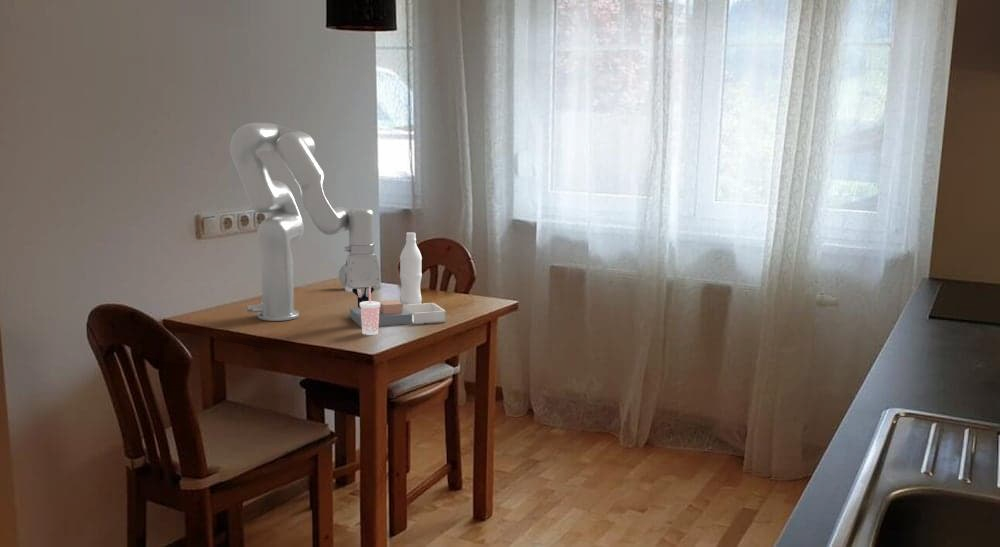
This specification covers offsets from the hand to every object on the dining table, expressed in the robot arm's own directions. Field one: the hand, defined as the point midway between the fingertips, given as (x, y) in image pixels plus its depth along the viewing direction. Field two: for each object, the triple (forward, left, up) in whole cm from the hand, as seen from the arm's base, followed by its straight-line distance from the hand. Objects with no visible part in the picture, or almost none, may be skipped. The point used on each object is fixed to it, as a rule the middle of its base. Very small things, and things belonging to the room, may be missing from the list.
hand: (363, 309), depth 272 cm
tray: (+20, 0, -5) cm, 20 cm away
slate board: (+6, +2, -5) cm, 8 cm away
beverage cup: (-1, -12, -5) cm, 13 cm away
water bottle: (+20, +16, -5) cm, 26 cm away
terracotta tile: (+9, 0, -2) cm, 9 cm away
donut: (+9, +51, -5) cm, 52 cm away
